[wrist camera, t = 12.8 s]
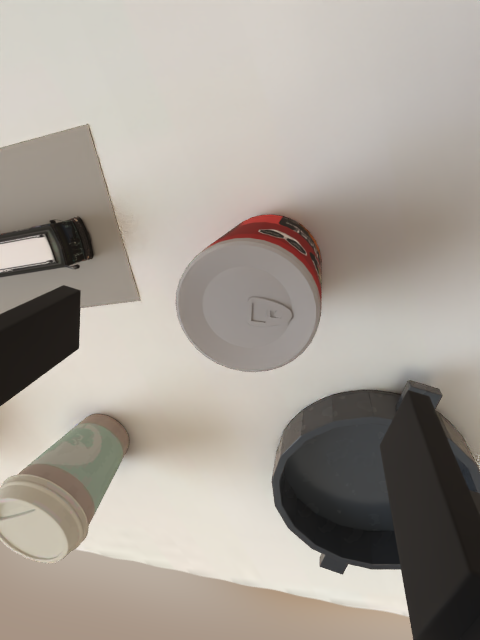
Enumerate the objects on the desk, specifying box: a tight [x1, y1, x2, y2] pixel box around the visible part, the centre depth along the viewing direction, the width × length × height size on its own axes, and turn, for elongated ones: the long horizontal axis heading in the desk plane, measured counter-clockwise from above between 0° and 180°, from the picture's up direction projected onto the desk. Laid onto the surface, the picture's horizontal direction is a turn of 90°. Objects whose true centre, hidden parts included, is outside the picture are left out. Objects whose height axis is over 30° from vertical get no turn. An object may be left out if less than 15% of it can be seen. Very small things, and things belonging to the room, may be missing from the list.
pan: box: [272, 380, 480, 574], centre depth 34 cm, size 17×23×4 cm
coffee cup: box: [0, 414, 129, 563], centre depth 36 cm, size 9×8×12 cm
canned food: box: [176, 215, 321, 372], centre depth 25 cm, size 8×8×11 cm
